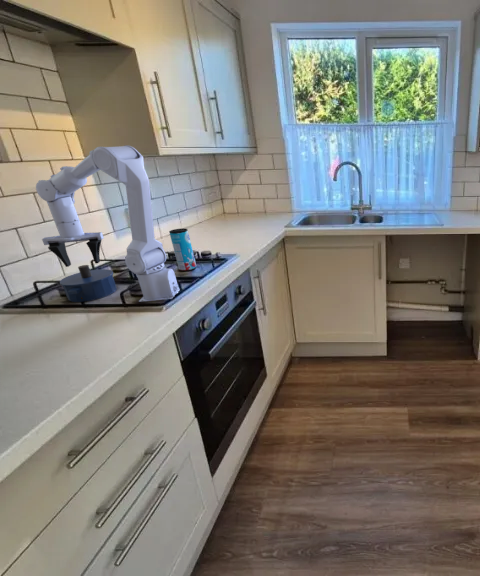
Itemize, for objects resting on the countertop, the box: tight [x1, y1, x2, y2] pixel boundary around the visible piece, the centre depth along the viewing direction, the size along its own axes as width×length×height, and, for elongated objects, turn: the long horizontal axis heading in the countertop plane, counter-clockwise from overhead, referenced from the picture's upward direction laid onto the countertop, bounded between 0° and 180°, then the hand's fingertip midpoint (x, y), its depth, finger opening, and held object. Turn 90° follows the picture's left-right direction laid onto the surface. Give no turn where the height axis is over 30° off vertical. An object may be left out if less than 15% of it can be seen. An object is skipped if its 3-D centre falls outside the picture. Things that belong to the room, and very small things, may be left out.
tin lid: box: [59, 264, 114, 287], centre depth 114 cm, size 14×14×5 cm
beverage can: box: [168, 228, 197, 272], centre depth 133 cm, size 6×6×15 cm
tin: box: [62, 274, 118, 303], centre depth 116 cm, size 13×18×5 cm
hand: (83, 264), depth 113 cm, fingers open, 7 cm apart
